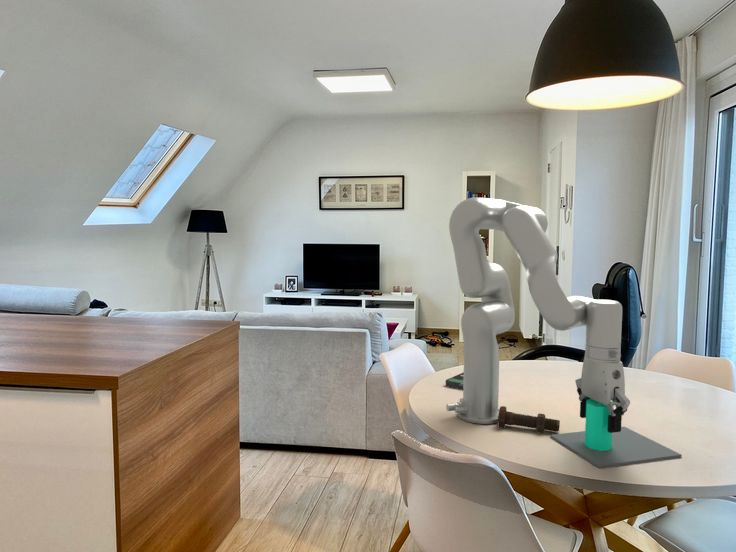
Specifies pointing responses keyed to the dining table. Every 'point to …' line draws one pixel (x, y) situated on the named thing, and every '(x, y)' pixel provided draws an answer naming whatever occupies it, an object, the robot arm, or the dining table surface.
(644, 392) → the dining table surface
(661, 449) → the mat
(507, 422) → the bolt
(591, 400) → the candle
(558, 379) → the dining table surface
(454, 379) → the disk drive
